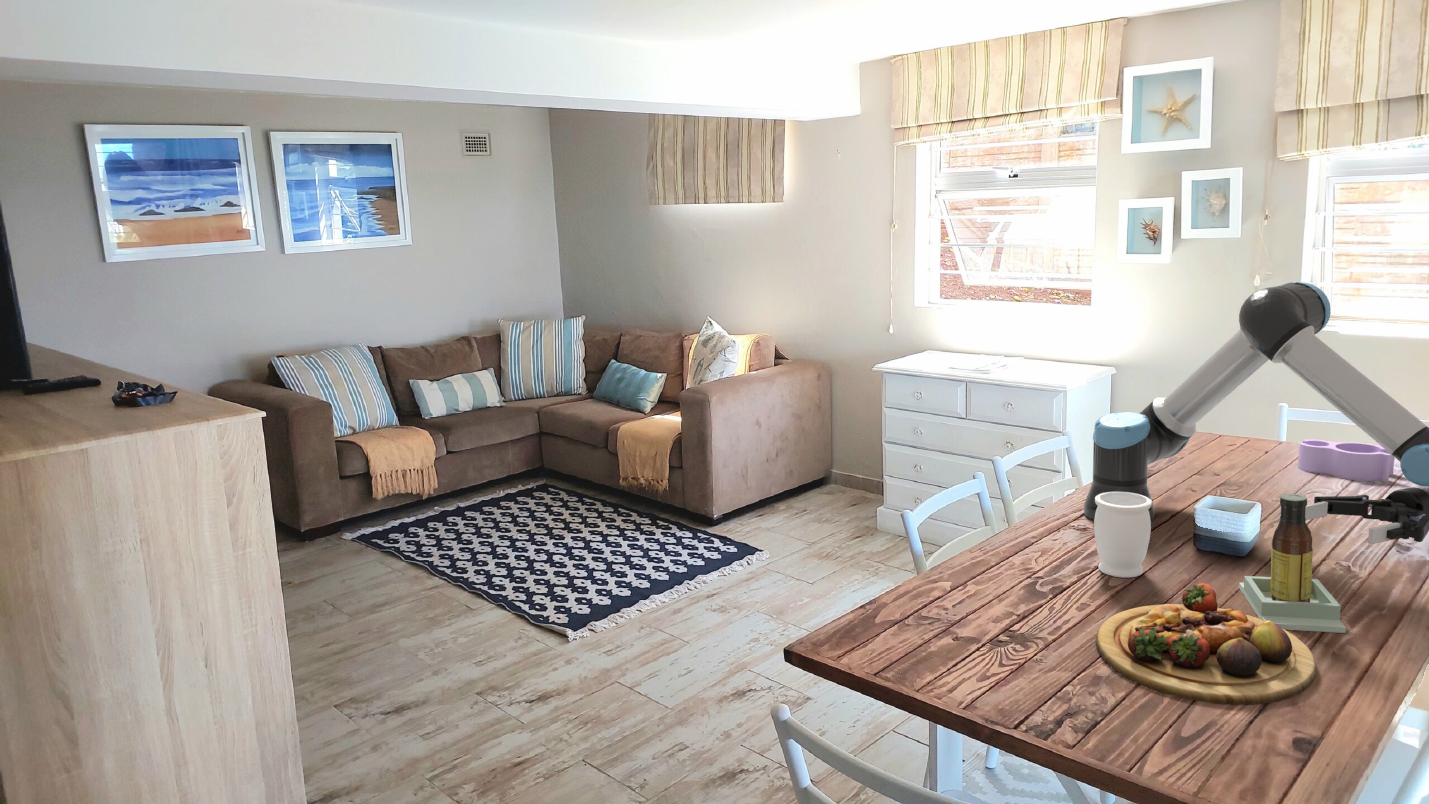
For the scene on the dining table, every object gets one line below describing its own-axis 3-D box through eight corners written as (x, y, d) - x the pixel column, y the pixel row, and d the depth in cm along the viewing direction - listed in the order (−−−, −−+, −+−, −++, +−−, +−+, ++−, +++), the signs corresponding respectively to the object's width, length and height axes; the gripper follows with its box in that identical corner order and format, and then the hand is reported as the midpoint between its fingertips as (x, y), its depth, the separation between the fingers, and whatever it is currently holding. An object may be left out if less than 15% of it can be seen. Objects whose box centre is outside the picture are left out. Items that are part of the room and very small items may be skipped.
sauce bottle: (1299, 595, 174) (1307, 490, 170) (1317, 610, 168) (1325, 501, 164) (1261, 596, 175) (1268, 491, 171) (1277, 610, 169) (1285, 502, 165)
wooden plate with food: (1131, 601, 179) (1132, 559, 177) (1333, 642, 158) (1336, 596, 157) (1066, 672, 156) (1066, 625, 154) (1292, 732, 135) (1295, 678, 133)
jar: (1154, 581, 186) (1157, 507, 183) (1098, 580, 189) (1100, 506, 186) (1142, 561, 197) (1144, 490, 194) (1088, 560, 199) (1090, 490, 196)
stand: (1265, 628, 165) (1266, 609, 164) (1239, 587, 182) (1240, 569, 181) (1345, 632, 161) (1347, 613, 161) (1310, 590, 178) (1312, 572, 178)
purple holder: (1293, 472, 250) (1295, 446, 248) (1304, 461, 259) (1306, 436, 257) (1386, 484, 236) (1388, 457, 235) (1394, 472, 245) (1397, 446, 244)
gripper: (1355, 471, 190) (1274, 486, 183) (1492, 506, 167) (1405, 525, 160) (1352, 507, 191) (1271, 524, 185) (1487, 547, 168) (1401, 567, 161)
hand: (1333, 524), depth 172 cm, fingers open, 13 cm apart
